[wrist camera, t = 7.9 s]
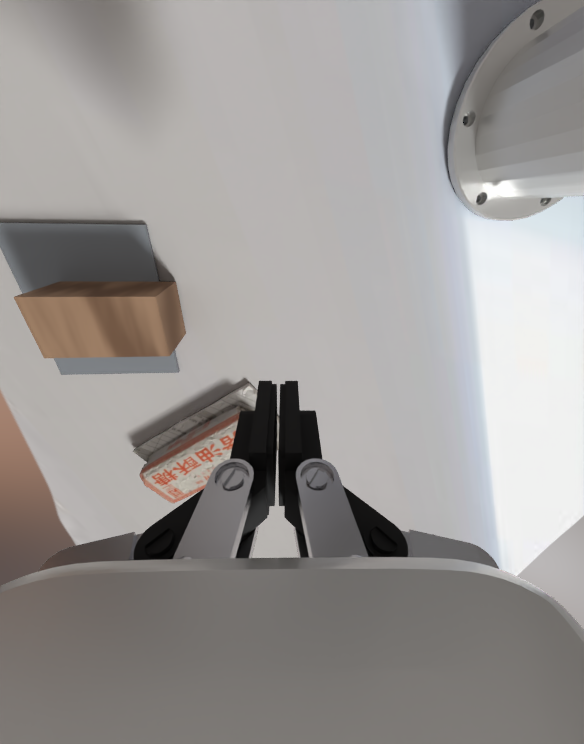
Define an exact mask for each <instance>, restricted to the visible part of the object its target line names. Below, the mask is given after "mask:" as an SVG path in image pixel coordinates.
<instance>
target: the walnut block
mask: <svg viewBox="0 0 584 744" xmlns="http://www.w3.org/2000/svg"><path fill="white" fill-rule="evenodd" d="M14 299H15V301H16V303H17V305H18V307H19V309H20V311H21V313H22V315H23V317H24V319H25V321H26V323H27V325H28V327H29V329H30V331H31V333H32V335H33V337H34V339H35V341H36V343H37V345H38V347H39V349H40V351H41V353H42V355H43V357H44V358H92V357H160V356H170V355H171V354H172V352H173V351H174V350H175V348H176V347H177V345H178V344H179V342H180V341H181V340H182V338H183V337H184V335H185V334H186V331H185V326H184V321H183V316H182V311H181V306H180V300H179V295H178V290H177V285H176V282H96V281H59V282H56V283H53V284H51V285H48V286H45V287H42V288H39V289H36V290H33V291H30V292H27V293H24V294H21V295H18V296H15V297H14Z"/></svg>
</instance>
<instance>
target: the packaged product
mask: <svg viewBox="0 0 584 744" xmlns="http://www.w3.org/2000/svg"><path fill="white" fill-rule="evenodd" d="M257 392H258V391H257V390H256V389H255V388H254V387H253V386H252V385H251V384H250V383H248V384H246V385H244V386H242V387H240V388H238V389H237V390H235V391H233V392H232V393H230V394H228V395H227V396H225V397H223V398H221V399H220V400H218V401H217V402H215V403H214V404H212V405H210V406H208V407H206V408H204V409H203V410H201V411H199V412H197V413H195V414H194V415H192V416H190V417H188V418H186V419H184V420H182V421H180V422H178V423H177V424H175V425H174V426H172V427H171V428H170V429H168V430H167V431H165V432H163V433H161V434H159V435H157V436H155V437H154V438H152V439H150V440H149V441H147V442H145V443H144V444H142V445H141V446H139V447H137V448H136V449H134V451H133V452H134V453H136V454H137V455H138V456H140V457H141V458H142V459H144V460H145V461H147V464H145V465H144V467H143V468H142V470H141V473H140V477H141V479H142V481H143V482H144V485H145V486H146V487H149V488H150V489H151V490H152V491H155V492H156V493H157V494H159V495H160V496H161V497H162V498H164V499H166V500H167V501H169V502H170V503H173V504H174V503H175V502H177V501H180V500H182V499H184V498H186V497H188V496H191V495H192V494H194V493H196V492H198V491H201V490H203V489H204V488H205V486H206V484H207V482H208V479H209V477H210V475H211V473H212V471H213V470H214V468H215V467H216V466H217V465H219V464H220V463H222V462H223V461H225V460H229V459H230V456H231V451H232V446H233V442H234V437H235V433H236V428H237V423H238V419H239V414H240V411H255V405H256V399H257ZM278 448H279V417H278V415H277V450H278Z"/></svg>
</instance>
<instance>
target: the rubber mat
mask: <svg viewBox="0 0 584 744" xmlns="http://www.w3.org/2000/svg"><path fill="white" fill-rule="evenodd" d="M0 248H1V250H2V252H3V254H4V256H5V258H6V260H7V262H8V264H9V267H10V269H11V271H12V273H13V275H14V277H15V279H16V281H17V283H18V285H19V287H20V289H21V291H22V294H24V293H27V292H30V291H33V290H36V289H39V288H42V287H45V286H48V285H51V284H53V283H56V282H59V281H96V282H159V278H158V273H157V269H156V264H155V260H154V256H153V251H152V247H151V242H150V238H149V233H148V229H147V225H134V224H60V223H0ZM54 360H55V362H56V364H57V366H58V368H59V370H60V372H61V375H67V374H122V373H176V372H179V367H178V362H177V358H176V353H175V350H174V351H173V352H172V354H171V355H170V356H160V357H92V358H54Z"/></svg>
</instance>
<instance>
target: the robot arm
mask: <svg viewBox="0 0 584 744" xmlns="http://www.w3.org/2000/svg"><path fill="white" fill-rule="evenodd" d="M463 118H464V120H465V123H464V124H463ZM448 168H449V173H450V178H451V183H452V185H453V187H454V190H455V192H456V195H457V196H458V198H459V199H460V200H461V202H462V203H463V204H464V206H465V207H466V208H468V209H469V210H470V211H471V212H473V213H474V214H476V215H478V216H480V217H483V218H485V219H491V220H498V221H513V220H518V219H523V218H527V217H530V216H532V215H535V214H537V213H540V212H542V211H544V210H546V209H547V208H549V207H551V206H552V205H554V204H556V203H557V202H559V201H560V200H561V199H563V198H564V197H575V196H584V0H541V1H539V2H537V3H536V4H534V5H533V6H531V7H529V8H528V9H527V10H526V11H524V12H523V13H522V14H521V15H519V16H518V17H517V18H516V19H514V20H513V21H512V22H511V23H510V24H509V25H508V26H507V27H506V28H505V29H504V30H503V31H502V32H501V33H500V34H499V35H498V36H497V37H496V38H495V39H494V40H493V41H492V43H491V44H490V45H489V47H488V48H487V49H486V51H485V52H484V53H483V55H482V56H481V57H480V59H479V60H478V61H477V63H476V65H475V67H474V69H473V70H472V72H471V74H470V76H469V77H468V79H467V81H466V83H465V85H464V87H463V90H462V92H461V95H460V97H459V100H458V102H457V105H456V108H455V111H454V115H453V119H452V123H451V126H450V133H449V141H448ZM476 198H477V200H476ZM276 454H277V384H272V381H259V385H258V392H257V399H256V405H255V411H240V414H239V419H238V423H237V428H236V433H235V437H234V442H233V446H232V451H231V456H230V459H229V460H225V461H223V462H222V463H220V464H219V465H217V466H216V467H215V468H214V470H213V471H212V473H211V475H210V477H209V479H208V482H207V484H206V486H205V488H204V489H203V490H201V491H200V492H198V493H197V494H196V495H194V496H193V497H191V498H190V499H188V500H187V501H186V502H184V503H183V504H181V505H180V506H179V507H177V508H176V509H174V510H173V511H172V512H170V513H169V514H167V515H166V516H165V517H163V518H162V519H160V520H159V521H158V522H156V523H155V524H153V525H152V526H151V527H149V528H148V529H147V530H146V531H145V532H144V533H142V534H138V535H136V534H135V532H132V533H128V534H124V535H120V536H115V537H111V538H107V539H102V540H98V541H94V542H90V543H85V544H81V545H77V546H73V547H69V548H66V549H63V550H61V551H59V552H57V553H56V554H54V555H53V556H51V557H50V558H49V559H48V560H47V561H46V562H45V563H44V564H43V565H42V566H41V567H40V569H39V570H38V572H36V573H33V574H30V575H27V576H24V577H21V578H19V579H16V580H14V581H11V582H9V583H7V584H4V585H2V586H0V744H584V629H583V628H582V627H581V626H580V625H579V623H578V622H577V621H576V620H575V619H574V618H573V617H572V616H571V614H570V613H568V611H567V610H566V609H565V608H564V607H563V606H562V605H560V604H559V603H558V602H557V601H556V600H555V599H554V598H553V597H552V596H550V595H548V594H547V593H546V592H544V591H543V590H541V589H540V588H538V587H537V586H535V585H533V584H531V583H529V582H527V581H525V580H524V579H522V578H519V577H517V576H515V575H513V574H510V573H508V572H506V571H503V570H500V569H499V568H498V566H497V564H496V562H495V561H494V560H493V558H492V557H491V556H490V555H489V554H488V553H487V552H486V551H484V550H483V549H481V548H480V547H478V546H476V545H473V544H471V543H467V542H463V541H458V540H454V539H449V538H445V537H440V536H436V535H431V534H427V533H423V532H418V531H414V530H409V532H404V531H400V530H399V529H398V528H397V527H396V526H395V525H394V524H393V523H391V522H390V521H389V520H387V519H386V518H385V517H383V516H382V515H381V514H380V513H378V512H377V511H376V510H374V509H373V508H372V507H370V506H369V505H368V504H366V503H365V502H364V501H362V500H361V499H360V498H358V497H357V496H356V495H354V494H353V493H352V492H350V491H349V490H348V489H346V488H345V487H344V486H343V485H342V483H341V480H340V477H339V474H338V472H337V470H336V469H335V467H334V466H333V465H332V464H331V463H329V462H327V461H326V460H322V454H321V446H320V439H319V432H318V425H317V418H316V412H315V411H300V410H299V395H298V381H285V384H280V415H279V448H278V464H279V506H285V518H286V519H287V520H288V521H289V522H290V523H291V524H292V525H293V526H294V534H295V540H296V546H297V552H298V558H252V555H253V550H254V546H255V542H256V537H257V533H258V525H260V524H261V523H262V522H263V521H264V520H265V519H266V518H267V515H269V506H274V505H275V481H276Z"/></svg>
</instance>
